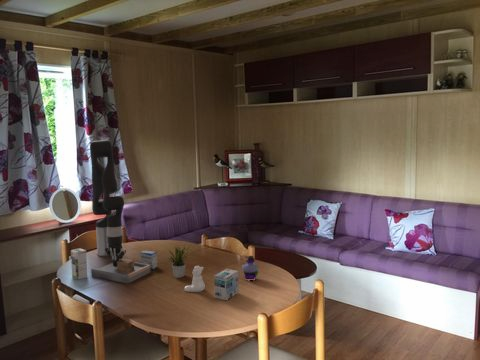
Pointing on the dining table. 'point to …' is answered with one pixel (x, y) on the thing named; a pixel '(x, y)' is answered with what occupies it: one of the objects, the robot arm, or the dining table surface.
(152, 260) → the medicine box
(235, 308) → the dining table surface
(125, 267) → the walnut block
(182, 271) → the house plant
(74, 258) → the syrup box
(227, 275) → the light bulb box
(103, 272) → the grey tray
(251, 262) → the potion bottle
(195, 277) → the white creature statuette
